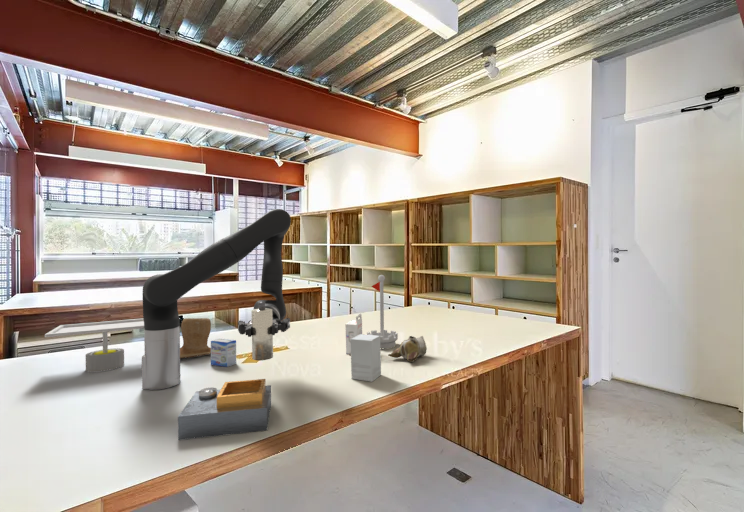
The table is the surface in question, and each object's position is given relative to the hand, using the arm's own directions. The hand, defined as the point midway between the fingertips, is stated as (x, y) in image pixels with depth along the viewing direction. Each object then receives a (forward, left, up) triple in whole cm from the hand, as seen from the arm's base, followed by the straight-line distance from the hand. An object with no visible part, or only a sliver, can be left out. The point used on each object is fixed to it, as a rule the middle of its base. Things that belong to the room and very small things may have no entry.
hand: (261, 331), depth 87 cm
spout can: (0, +3, -7) cm, 7 cm away
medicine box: (-17, +45, -20) cm, 52 cm away
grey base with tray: (-7, -2, -20) cm, 21 cm away
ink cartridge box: (+31, +50, -20) cm, 62 cm away
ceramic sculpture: (+49, +35, -20) cm, 64 cm away
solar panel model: (-57, +51, -20) cm, 79 cm away
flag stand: (+44, +56, -20) cm, 74 cm away
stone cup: (-31, +59, -20) cm, 69 cm away
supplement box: (+30, +20, -20) cm, 41 cm away
